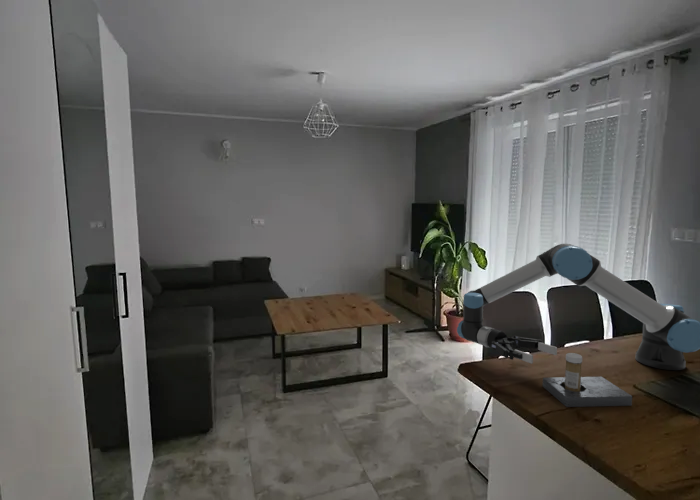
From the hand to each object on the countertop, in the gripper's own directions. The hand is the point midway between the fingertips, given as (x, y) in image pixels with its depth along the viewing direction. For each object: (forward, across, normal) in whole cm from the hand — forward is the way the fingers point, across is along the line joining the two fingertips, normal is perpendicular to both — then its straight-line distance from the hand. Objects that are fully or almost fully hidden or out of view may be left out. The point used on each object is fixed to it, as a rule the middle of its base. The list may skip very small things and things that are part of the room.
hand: (544, 355), depth 132 cm
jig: (+12, -3, -10) cm, 16 cm away
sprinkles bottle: (+10, 0, -10) cm, 14 cm away
